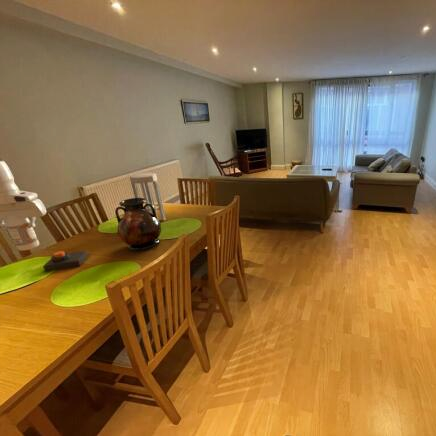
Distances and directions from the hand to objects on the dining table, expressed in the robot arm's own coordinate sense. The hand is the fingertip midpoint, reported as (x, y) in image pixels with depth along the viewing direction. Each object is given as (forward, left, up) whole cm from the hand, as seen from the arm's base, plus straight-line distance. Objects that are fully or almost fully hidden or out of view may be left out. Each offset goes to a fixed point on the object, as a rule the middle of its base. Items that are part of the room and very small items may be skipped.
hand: (20, 228), depth 103 cm
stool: (+38, +59, -26) cm, 75 cm away
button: (+2, +13, -22) cm, 25 cm away
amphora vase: (+38, +21, -26) cm, 51 cm away
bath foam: (0, 0, -9) cm, 9 cm away
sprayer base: (+4, +13, -26) cm, 30 cm away
